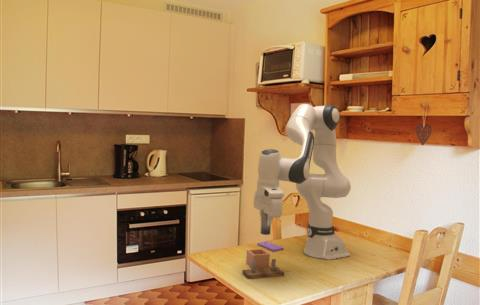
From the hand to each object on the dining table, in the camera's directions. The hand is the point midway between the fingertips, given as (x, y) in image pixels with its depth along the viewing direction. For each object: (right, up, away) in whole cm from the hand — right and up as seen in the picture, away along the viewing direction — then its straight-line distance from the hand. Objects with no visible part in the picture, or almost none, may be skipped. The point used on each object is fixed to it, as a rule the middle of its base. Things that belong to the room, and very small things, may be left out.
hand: (265, 223), depth 163 cm
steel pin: (0, -4, 0) cm, 4 cm away
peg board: (-1, -21, +1) cm, 21 cm away
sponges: (+5, -20, +39) cm, 44 cm away
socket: (-3, -20, +12) cm, 24 cm away
